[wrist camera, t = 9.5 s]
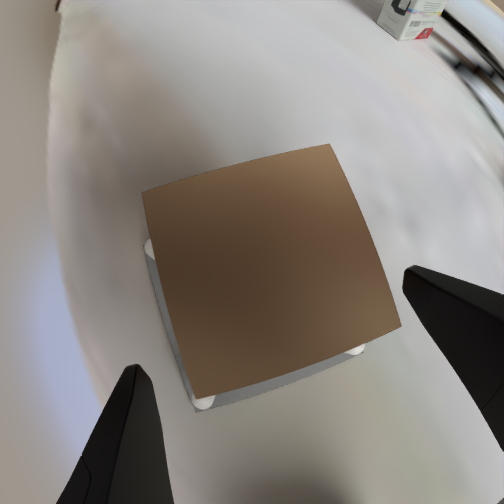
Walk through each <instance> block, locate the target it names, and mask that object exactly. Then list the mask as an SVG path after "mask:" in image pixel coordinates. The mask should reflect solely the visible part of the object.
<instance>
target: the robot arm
mask: <svg viewBox="0 0 504 504" xmlns="http://www.w3.org/2000/svg"><path fill="white" fill-rule="evenodd" d="M402 289H403V293H404V295H405V296H406V298H407V300H408V301H409V303H410V304H411V306H412V308H413V309H414V311H415V313H416V314H417V316H418V318H419V319H420V321H421V323H422V324H423V326H424V327H425V329H426V330H427V332H428V333H429V335H430V336H431V337H432V339H433V340H434V341H435V343H436V344H437V346H438V347H439V349H440V350H441V351H442V353H443V354H444V356H445V357H446V359H447V360H448V361H449V363H450V364H451V366H452V367H453V369H454V370H455V372H456V373H457V375H458V376H459V378H460V379H461V381H462V383H463V384H464V386H465V387H466V389H467V390H468V392H469V393H470V395H471V397H472V398H473V400H474V402H475V403H476V405H477V406H478V408H479V410H480V411H481V413H482V415H483V417H484V418H485V420H486V422H487V424H488V425H489V427H490V429H491V431H492V432H493V434H494V436H495V438H496V440H497V442H498V443H499V445H500V447H501V449H502V450H503V452H504V294H502V295H501V293H498V292H495V291H492V290H489V289H486V288H484V287H481V286H478V285H475V284H472V283H469V282H466V281H463V280H460V279H457V278H454V277H451V276H448V275H445V274H442V273H439V272H436V271H433V270H430V269H427V268H424V267H420V266H417V265H413V266H411V267H409V268H407V269H405V271H404V278H403V286H402ZM56 504H174V500H173V495H172V490H171V485H170V479H169V473H168V467H167V461H166V454H165V447H164V439H163V432H162V425H161V420H160V416H159V412H158V407H157V403H156V398H155V393H154V388H153V384H152V381H151V379H150V377H149V376H148V375H147V374H146V372H145V371H144V370H143V369H142V367H141V366H140V365H139V364H133V365H129V366H127V367H126V368H125V369H124V371H123V373H122V375H121V377H120V378H119V380H118V382H117V384H116V386H115V388H114V390H113V392H112V394H111V396H110V397H109V399H108V401H107V403H106V405H105V407H104V409H103V411H102V413H101V415H100V417H99V419H98V421H97V423H96V425H95V427H94V429H93V432H92V433H91V435H90V438H89V440H88V442H87V444H86V446H85V448H84V450H83V452H82V456H81V457H80V459H79V461H78V463H77V465H76V467H75V469H74V471H73V473H72V475H71V477H70V479H69V481H68V483H67V485H66V487H65V488H64V490H63V492H62V494H61V496H60V498H59V499H58V501H57V503H56ZM497 504H504V498H503V499H502V500H501V501H500V502H499V503H497Z"/></svg>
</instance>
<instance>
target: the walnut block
mask: <svg viewBox="0 0 504 504" xmlns="http://www.w3.org/2000/svg"><path fill="white" fill-rule="evenodd" d="M142 197H143V203H144V208H145V214H146V219H147V224H148V229H149V234H150V239H151V244H152V248H153V253H154V257H155V262H156V266H157V270H158V274H159V278H160V282H161V286H162V290H163V294H164V298H165V302H166V306H167V309H168V313H169V317H170V320H171V324H172V327H173V331H174V334H175V338H176V341H177V344H178V347H179V351H180V354H181V357H182V360H183V363H184V366H185V370H186V373H187V376H188V379H189V382H190V384H191V387H192V390H193V393H194V396H195V399H196V400H197V399H201V398H205V397H209V396H213V395H217V394H221V393H225V392H229V391H232V390H236V389H239V388H243V387H246V386H250V385H253V384H256V383H260V382H263V381H266V380H269V379H272V378H276V377H279V376H282V375H285V374H288V373H291V372H293V371H296V370H299V369H302V368H305V367H307V366H310V365H313V364H316V363H318V362H321V361H324V360H326V359H329V358H331V357H334V356H336V355H339V354H341V353H344V352H346V351H348V350H351V349H353V348H356V347H358V346H360V345H363V344H365V343H367V342H369V341H372V340H374V339H376V338H378V337H380V336H383V335H385V334H387V333H389V332H391V331H393V330H395V329H397V328H399V327H401V322H400V319H399V316H398V312H397V309H396V306H395V303H394V299H393V296H392V293H391V290H390V287H389V284H388V281H387V278H386V275H385V272H384V269H383V267H382V264H381V261H380V258H379V256H378V253H377V250H376V248H375V245H374V242H373V240H372V237H371V235H370V232H369V230H368V227H367V225H366V222H365V220H364V217H363V215H362V212H361V210H360V208H359V205H358V203H357V201H356V198H355V196H354V194H353V192H352V189H351V187H350V185H349V183H348V181H347V178H346V176H345V174H344V172H343V170H342V168H341V166H340V163H339V161H338V159H337V157H336V155H335V153H334V151H333V149H332V147H331V145H330V144H325V145H320V146H314V147H309V148H304V149H300V150H295V151H290V152H286V153H281V154H277V155H272V156H268V157H264V158H260V159H255V160H251V161H247V162H243V163H239V164H236V165H232V166H228V167H224V168H221V169H217V170H213V171H210V172H206V173H203V174H199V175H196V176H192V177H189V178H186V179H182V180H179V181H176V182H173V183H169V184H166V185H163V186H160V187H157V188H154V189H151V190H148V191H145V192H142Z"/></svg>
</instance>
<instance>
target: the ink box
mask: <svg viewBox="0 0 504 504" xmlns="http://www.w3.org/2000/svg"><path fill="white" fill-rule="evenodd" d="M447 1H448V0H385V3H384V5H383V8H382V10H381V13H380V15H379V18H378V20H377V24H378V25H379V26H381V27H382V28H383V29H384V30H386V31H387V32H388V33H389V34H391V35H392V36H393V37H394V38H396V39H397V40H398V41H403V40H412V39H422V38H428V36H429V35H430V33H431V31H432V29H433V27H434V26H435V24H436V22H437V20H438V18H439V17H440V15H441V13H442V11H443V9H444V7H445V5H446V3H447Z"/></svg>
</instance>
